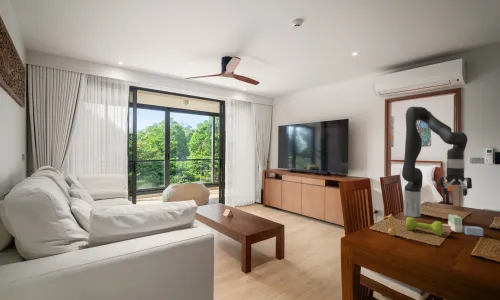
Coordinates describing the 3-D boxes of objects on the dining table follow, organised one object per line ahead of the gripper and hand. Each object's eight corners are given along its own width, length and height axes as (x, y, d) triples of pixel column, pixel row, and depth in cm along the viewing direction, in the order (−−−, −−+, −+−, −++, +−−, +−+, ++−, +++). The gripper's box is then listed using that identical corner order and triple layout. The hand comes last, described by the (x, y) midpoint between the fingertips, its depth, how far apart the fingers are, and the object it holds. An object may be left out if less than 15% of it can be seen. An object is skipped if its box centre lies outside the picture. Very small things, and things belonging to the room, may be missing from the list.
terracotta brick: (435, 231, 129) (435, 224, 129) (432, 229, 132) (432, 222, 132) (450, 233, 127) (450, 226, 127) (447, 231, 130) (447, 224, 130)
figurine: (402, 236, 122) (402, 214, 122) (398, 239, 118) (398, 216, 118) (385, 232, 128) (385, 211, 128) (381, 234, 125) (381, 213, 124)
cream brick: (455, 232, 128) (455, 224, 128) (448, 227, 135) (448, 221, 135) (462, 232, 127) (462, 225, 127) (454, 228, 134) (454, 221, 134)
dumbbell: (442, 233, 126) (442, 220, 126) (442, 238, 120) (442, 224, 120) (406, 227, 137) (406, 215, 137) (405, 231, 131) (405, 218, 130)
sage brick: (454, 224, 128) (454, 217, 128) (448, 220, 135) (448, 214, 135) (461, 225, 127) (461, 218, 127) (455, 221, 134) (455, 214, 134)
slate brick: (466, 234, 124) (466, 227, 124) (463, 232, 127) (463, 225, 127) (483, 236, 122) (483, 229, 122) (479, 234, 125) (479, 227, 125)
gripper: (467, 166, 132) (467, 194, 132) (437, 166, 137) (437, 193, 137) (474, 168, 125) (474, 197, 125) (442, 167, 130) (442, 195, 130)
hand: (454, 195), depth 131 cm, fingers open, 8 cm apart
